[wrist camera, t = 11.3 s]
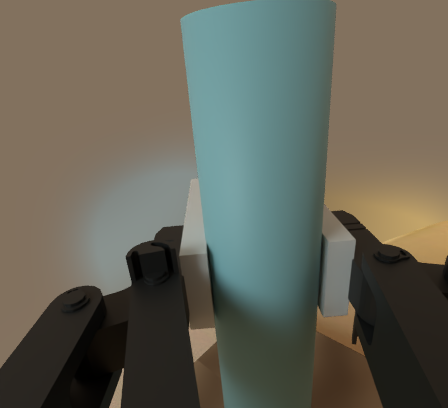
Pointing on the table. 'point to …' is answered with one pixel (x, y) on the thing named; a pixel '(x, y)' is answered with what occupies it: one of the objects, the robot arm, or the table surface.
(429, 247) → the table surface
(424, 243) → the table surface
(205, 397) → the walnut hole block
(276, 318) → the teal dowel
